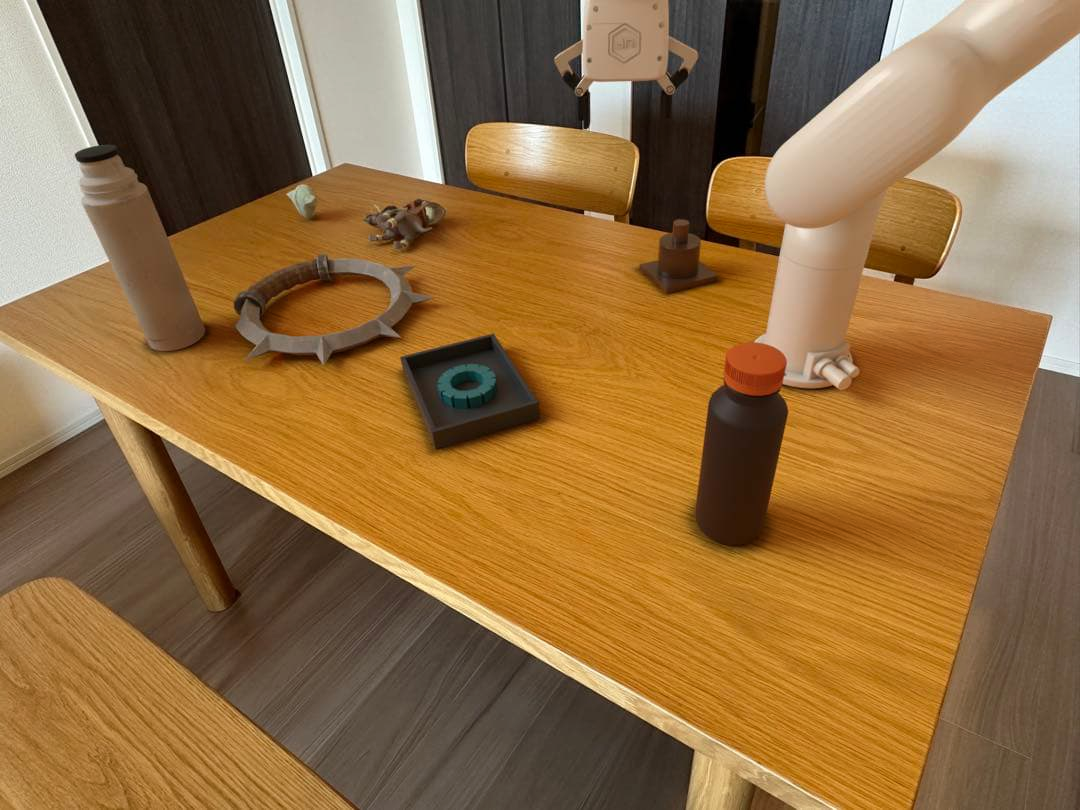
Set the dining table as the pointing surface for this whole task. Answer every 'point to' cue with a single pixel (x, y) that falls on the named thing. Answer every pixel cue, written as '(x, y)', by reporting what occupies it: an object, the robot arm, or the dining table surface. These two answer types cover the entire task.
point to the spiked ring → (261, 292)
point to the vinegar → (742, 445)
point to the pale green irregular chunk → (304, 200)
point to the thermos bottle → (138, 249)
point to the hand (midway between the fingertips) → (624, 125)
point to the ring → (472, 396)
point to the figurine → (405, 221)
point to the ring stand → (678, 261)
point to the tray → (466, 423)
